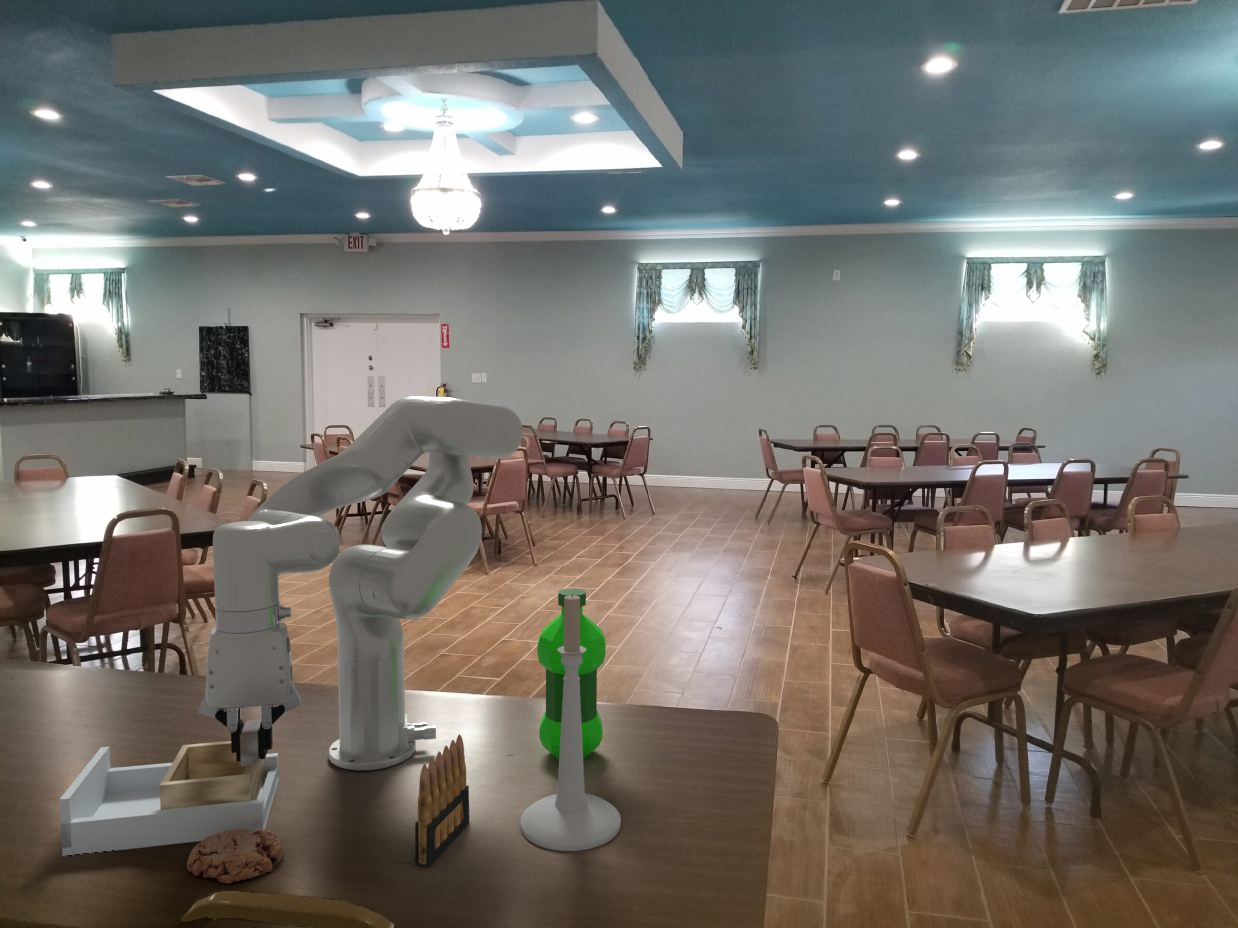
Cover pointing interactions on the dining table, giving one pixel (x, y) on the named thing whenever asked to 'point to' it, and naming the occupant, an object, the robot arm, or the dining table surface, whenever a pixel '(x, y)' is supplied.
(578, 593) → the plastic bottle
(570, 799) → the candlestick
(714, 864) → the dining table surface
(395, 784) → the dining table surface
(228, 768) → the drawer
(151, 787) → the bay
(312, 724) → the dining table surface
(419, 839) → the ammunition clip
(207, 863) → the cookie
